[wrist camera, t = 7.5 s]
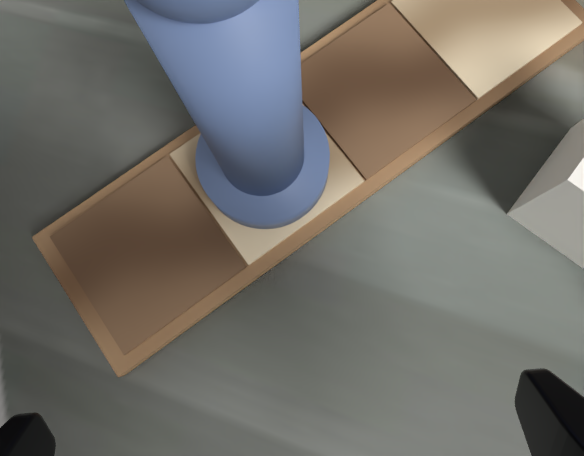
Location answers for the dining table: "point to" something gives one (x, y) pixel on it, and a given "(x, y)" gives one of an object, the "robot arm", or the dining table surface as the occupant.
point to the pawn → (243, 103)
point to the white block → (557, 198)
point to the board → (341, 175)
